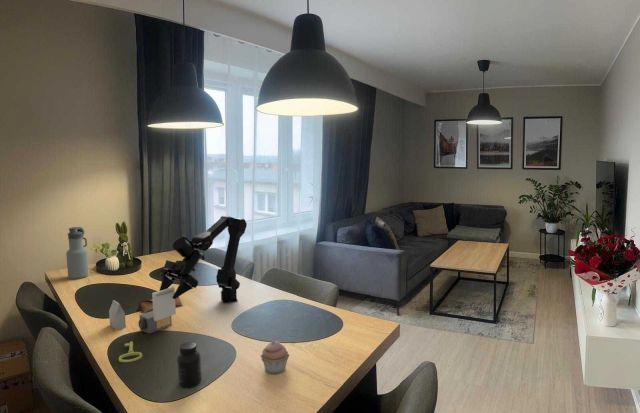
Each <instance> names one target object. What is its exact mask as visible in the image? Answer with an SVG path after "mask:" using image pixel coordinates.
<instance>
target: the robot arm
mask: <svg viewBox="0 0 640 413" xmlns="http://www.w3.org/2000/svg"><path fill="white" fill-rule="evenodd" d="M247 224H248V223H247V221H246V219H245V218H236V217H232V216H229V215H223V216H220V218H219V220H217V221H215V222H214V223H213V224H212V225H211V226H210V227H208V228H207V230H205V231H203V232H200V233H198V234H196V235H194V236H193V237H192V238H191V239H189V238H188V237H187V236H185V235H182V236H181V237H180V238H178V239H176V240H175V241H174V242H173V243H172V249H173V250H174V251H175V252H176V253H178V255H180V256H181V257H182V258H183V259H182V260H176V261H172V260H167V259H166V260H165V263H164V266H163V268H161V270H160V271H159V274H160V276H161V284H160V287H159V291H161V290H164V289H168V288H171V286H172V285H173V284H174V281H175V280H177V281H179V284H178V286H177V288H176V290H175V293H174V295H173V297H172V298H173V299H176V298H177V297H179V298H180V297H181V296H182V295H183V294H185V293H187V292H188V291H190V290H193V289H196V288H197V287H198V285H199V280H197V279H196V277H194V276H193V275H191V273H192V272H196V268H195V267H196V265H197V264H198V263H199V261H200V260H203V261H204V260H205V253H203V252H206V251H208V250H209V249H210V247H211V246H212V245H213V243H214V240H215V238H217V237H218V236H219V235H221V233H222V232H223V231H224V230H226V229H227V231H228V235H229V237H228V241H227V246H226V252H225V256H224V261H223V266H222V267H221V268H218V270H217V273H216V276H215V278H216V282H217V285H218V288H220V289H221V290H220V300H221V301H222V303H224V304H227V303H234V302H239V301H238V296H237V290H238V289H239V288H240V286H241V283H240V282H239V281H238V279H237V272H236V270H235V267H236V266H235V265H236V260H237V256H238V255H237V254H238V249H239V246H240V242H241V240H240V239H241V238H242V236H243V235H244V234H245V233H246V229H247ZM200 251H203V252H200Z"/></svg>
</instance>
